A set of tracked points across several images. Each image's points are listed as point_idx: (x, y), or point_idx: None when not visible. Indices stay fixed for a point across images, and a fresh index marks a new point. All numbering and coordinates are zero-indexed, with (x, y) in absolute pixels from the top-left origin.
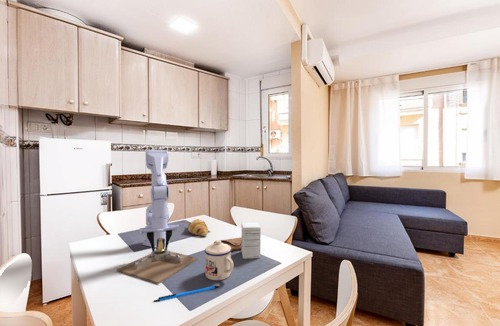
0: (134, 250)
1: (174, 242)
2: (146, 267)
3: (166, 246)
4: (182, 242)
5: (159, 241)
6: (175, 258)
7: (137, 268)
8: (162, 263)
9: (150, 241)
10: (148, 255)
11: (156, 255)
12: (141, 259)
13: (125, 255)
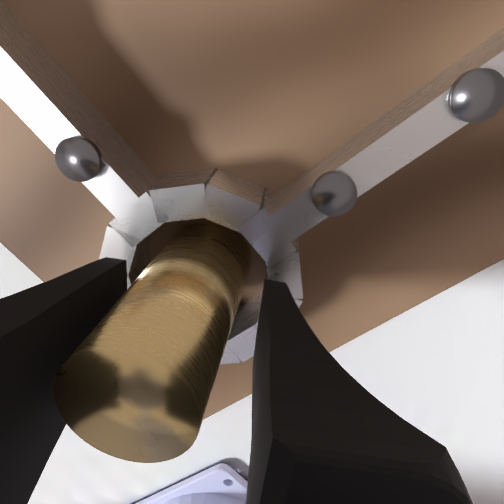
0: None
1: (86, 498)
2: (385, 25)
3: (82, 273)
4: None
5: (157, 346)
6: (6, 32)
7: (496, 33)
8: (189, 63)
9: (334, 374)
10: None
11: (244, 200)
12: (393, 282)
13: (488, 444)
